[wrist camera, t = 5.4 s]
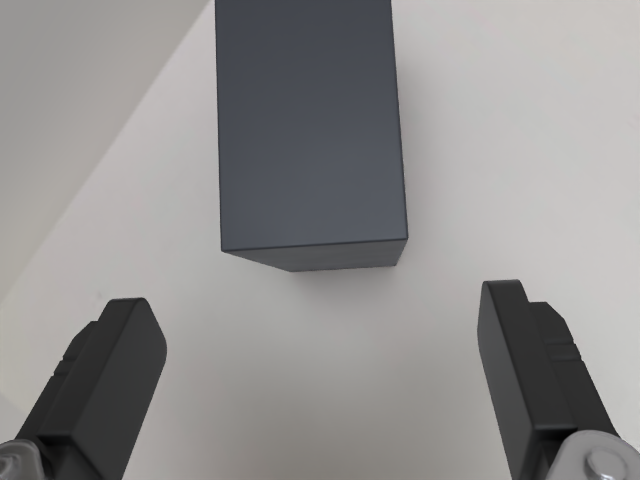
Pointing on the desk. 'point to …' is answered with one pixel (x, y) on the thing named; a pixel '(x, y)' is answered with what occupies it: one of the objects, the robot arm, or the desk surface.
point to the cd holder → (309, 134)
